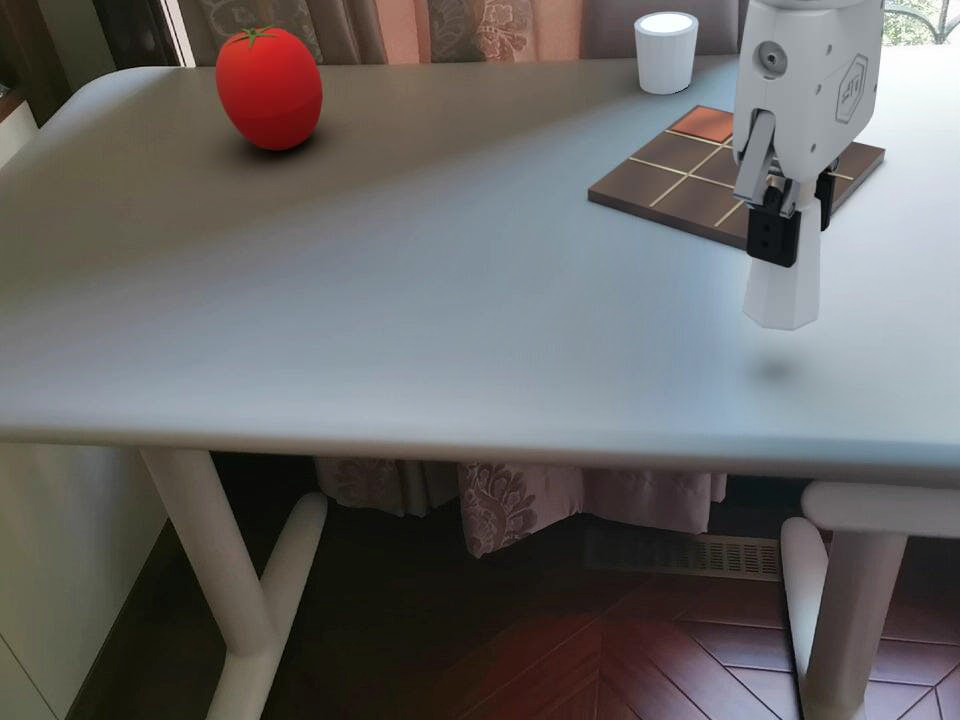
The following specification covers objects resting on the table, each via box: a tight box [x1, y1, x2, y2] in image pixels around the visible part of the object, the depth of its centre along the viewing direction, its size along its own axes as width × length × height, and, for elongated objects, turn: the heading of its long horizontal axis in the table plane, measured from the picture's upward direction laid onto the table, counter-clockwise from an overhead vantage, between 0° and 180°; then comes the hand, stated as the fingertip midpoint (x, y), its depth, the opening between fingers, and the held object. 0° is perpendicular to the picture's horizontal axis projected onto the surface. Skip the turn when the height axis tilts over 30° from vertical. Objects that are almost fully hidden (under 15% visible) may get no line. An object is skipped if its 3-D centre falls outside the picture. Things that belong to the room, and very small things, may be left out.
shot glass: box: [633, 11, 699, 95], centre depth 106 cm, size 7×7×7 cm
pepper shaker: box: [741, 174, 822, 332], centre depth 63 cm, size 5×5×11 cm
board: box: [587, 104, 886, 251], centre depth 90 cm, size 20×20×1 cm
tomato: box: [214, 24, 324, 151], centre depth 102 cm, size 11×11×13 cm
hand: (787, 239), depth 63 cm, fingers closed on pepper shaker, 4 cm apart
